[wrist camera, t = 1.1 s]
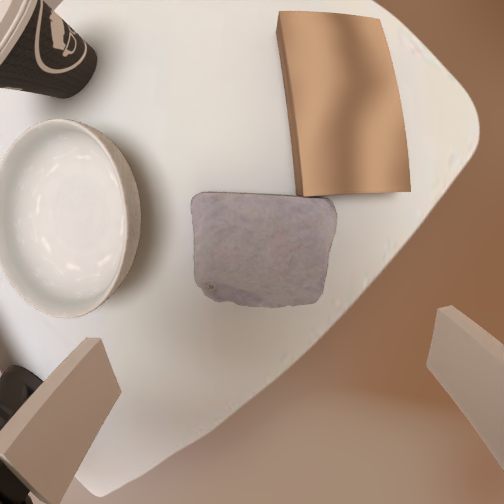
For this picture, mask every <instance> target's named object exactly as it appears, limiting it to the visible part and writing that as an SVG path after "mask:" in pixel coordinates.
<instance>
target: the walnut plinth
mask: <svg viewBox="0 0 504 504" xmlns="http://www.w3.org/2000/svg"><path fill="white" fill-rule="evenodd" d="M276 35H277V41H278V47H279V54H280V60H281V67H282V73H283V80H284V88H285V95H286V103H287V110H288V119H289V127H290V136H291V145H292V154H293V164H294V174H295V185H296V195H299V196H304V197H306V196H320V195H337V194H356V193H381V192H411V185H410V170H409V159H408V149H407V140H406V132H405V125H404V118H403V112H402V106H401V101H400V95H399V90H398V85H397V81H396V76H395V72H394V68H393V63H392V60H391V56H390V52H389V48H388V45H387V41H386V38H385V34H384V31H383V28H382V25H381V22H380V19H376V18H370V17H363V16H356V15H348V14H339V13H327V12H310V11H279V15H278V22H277V30H276Z"/></svg>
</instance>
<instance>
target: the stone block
mask: <svg viewBox="0 0 504 504" xmlns="http://www.w3.org/2000/svg"><path fill="white" fill-rule="evenodd" d="M191 213H192V224H193V229H194V277H195V281H196V284H197V286H199V287H201V288H202V290H203V292H204V294H205V295H206V296H208V297H210V298H211V299H213V300H214V301H217V302H223V301H231V302H234V303H236V304H238V305H244V306H250V307H261V306H263V307H269V308H275V307H284V306H287V305H290V306H296V305H305V304H312V303H315V302H316V301H317V300H318V299H319V297H320V296H321V294H322V293H323V288H324V282H325V277H326V274H327V267H328V255H329V251H330V248H331V245H332V241H333V237H334V234H335V231H336V224H337V221H336V220H337V213H336V210H335V207H334V204H333V202H332V201H330V200H329V199H328V198H320V197H307V196H306V197H304V196H291V195H274V194H253V193H227V192H201V193H199V194H197V195H195V196H194V197H193V198H192V200H191Z"/></svg>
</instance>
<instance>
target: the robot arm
mask: <svg viewBox="0 0 504 504" xmlns="http://www.w3.org/2000/svg"><path fill="white" fill-rule="evenodd" d="M426 366H427V368H428V369H429V370H430V371H431V373H432V374H433V375H434V376H435V377H436V379H437V380H438V381H439V382H440V384H441V385H442V386H443V388H444V389H445V390H446V391H447V393H448V394H449V395H450V397H451V398H452V399H453V400H454V402H455V403H456V404H457V406H458V407H459V408H460V410H461V411H462V412H463V414H464V415H465V416H466V418H467V419H468V420H469V422H470V423H471V424H472V426H473V427H474V429H475V430H476V431H477V433H478V434H479V435H480V437H481V438H482V440H483V441H484V442H485V444H486V445H487V447H488V448H489V450H490V451H491V453H492V454H493V455H494V457H495V459H496V460H497V461H498V463H499V464H500V466H501V468H502V469H503V471H504V345H503V344H502V343H500V342H499V341H498V340H497V339H495V338H494V337H493V336H492V335H490V334H489V333H488V332H486V331H485V330H484V329H483V328H481V327H480V326H479V325H477V324H476V323H474V322H473V321H472V320H471V319H469V318H468V317H467V316H465V315H464V314H463V313H461V312H460V311H459V310H457V309H456V308H454V307H453V306H447V307H443V308H439V309H438V310H437V315H436V322H435V327H434V332H433V337H432V342H431V347H430V351H429V355H428V359H427V363H426ZM120 394H121V389H120V387H119V385H118V382H117V380H116V377H115V375H114V372H113V370H112V367H111V365H110V362H109V359H108V357H107V354H106V351H105V348H104V345H103V343H102V340H101V338H87V337H86V338H85V339H84V340H83V341H82V342H81V343H80V344H79V345H78V346H77V347H76V348H75V349H74V350H73V352H72V353H71V354H70V355H69V356H68V357H67V358H66V359H65V360H64V361H63V362H62V363H61V364H60V365H59V366H58V367H57V368H56V369H55V370H54V371H53V372H52V373H51V374H50V376H49V377H48V378H47V379H46V380H45V381H44V382H42V381H41V380H40V379H39V378H37V377H36V376H35V375H33V374H32V373H31V372H29V371H27V370H26V369H24V368H21V367H18V366H11V367H9V368H8V369H7V370H6V371H5V372H4V373H3V374H2V376H1V377H0V504H33V502H32V500H31V498H30V497H29V496H28V493H29V492H30V491H31V492H32V493H33V494H34V495H35V496H36V497H37V498H38V499H39V500H40V501H42V502H44V503H46V504H60V502H61V500H62V498H63V496H64V494H65V492H66V491H67V489H68V487H69V485H70V483H71V481H72V479H73V477H74V475H75V473H76V472H77V470H78V468H79V466H80V464H81V462H82V460H83V459H84V457H85V455H86V453H87V451H88V450H89V448H90V446H91V444H92V442H93V441H94V439H95V437H96V435H97V433H98V432H99V430H100V428H101V426H102V425H103V423H104V421H105V419H106V418H107V416H108V414H109V413H110V411H111V409H112V407H113V406H114V404H115V402H116V401H117V399H118V397H119V395H120Z"/></svg>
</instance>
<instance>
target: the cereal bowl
mask: <svg viewBox="0 0 504 504" xmlns="http://www.w3.org/2000/svg"><path fill="white" fill-rule="evenodd" d="M140 229H141V209H140V197H139V192H138V190H137V185H136V181H135V179H134V176H133V174H132V171H131V169H130V165H129V164H128V163H127V161H126V159H125V158H124V155H123V154H122V153H121V152H120V150H119V149H118V148H117V147H116V145H115V144H114V143H113V142H112V141H110V140H109V138H108V137H106V136H105V135H103V134H102V133H101V132H99V131H97V130H96V129H94V128H92V127H90V126H88V125H86V124H82V123H81V122H77V121H74V120H68V119H50V120H46V121H43V122H40V123H37V124H35V125H33V126H32V127H30V128H28V129H27V130H26V131H25V132H23V133H22V134H21V135H20V136H19V137H18V138H17V139H16V140H15V141H14V143H13V144H12V145H11V147H10V148H9V149H8V151H7V153H6V154H5V156H4V158H3V160H2V162H1V164H0V266H1V268H2V270H3V272H4V274H5V276H6V277H7V279H8V281H9V282H10V284H11V285H12V286H13V288H14V289H15V290H16V292H17V293H18V294H19V295H20V296H21V297H22V298H23V299H24V300H25V301H26V302H27V303H28V304H30V305H31V306H32V307H34V308H35V309H37V310H39V311H41V312H43V313H45V314H47V315H50V316H53V317H58V318H75V317H80V316H83V315H85V314H88V313H90V312H91V311H93V310H95V309H97V308H98V307H99V306H100V305H102V304H103V303H104V302H105V301H106V300H107V299H109V297H110V296H111V295H112V294H113V293H114V292H115V291H116V289H118V288H119V286H120V285H121V283H122V282H123V281H124V279H125V277H126V275H127V274H128V272H129V270H130V268H131V265H132V263H133V261H134V258H135V255H136V250H137V247H138V243H139V237H140Z"/></svg>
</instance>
